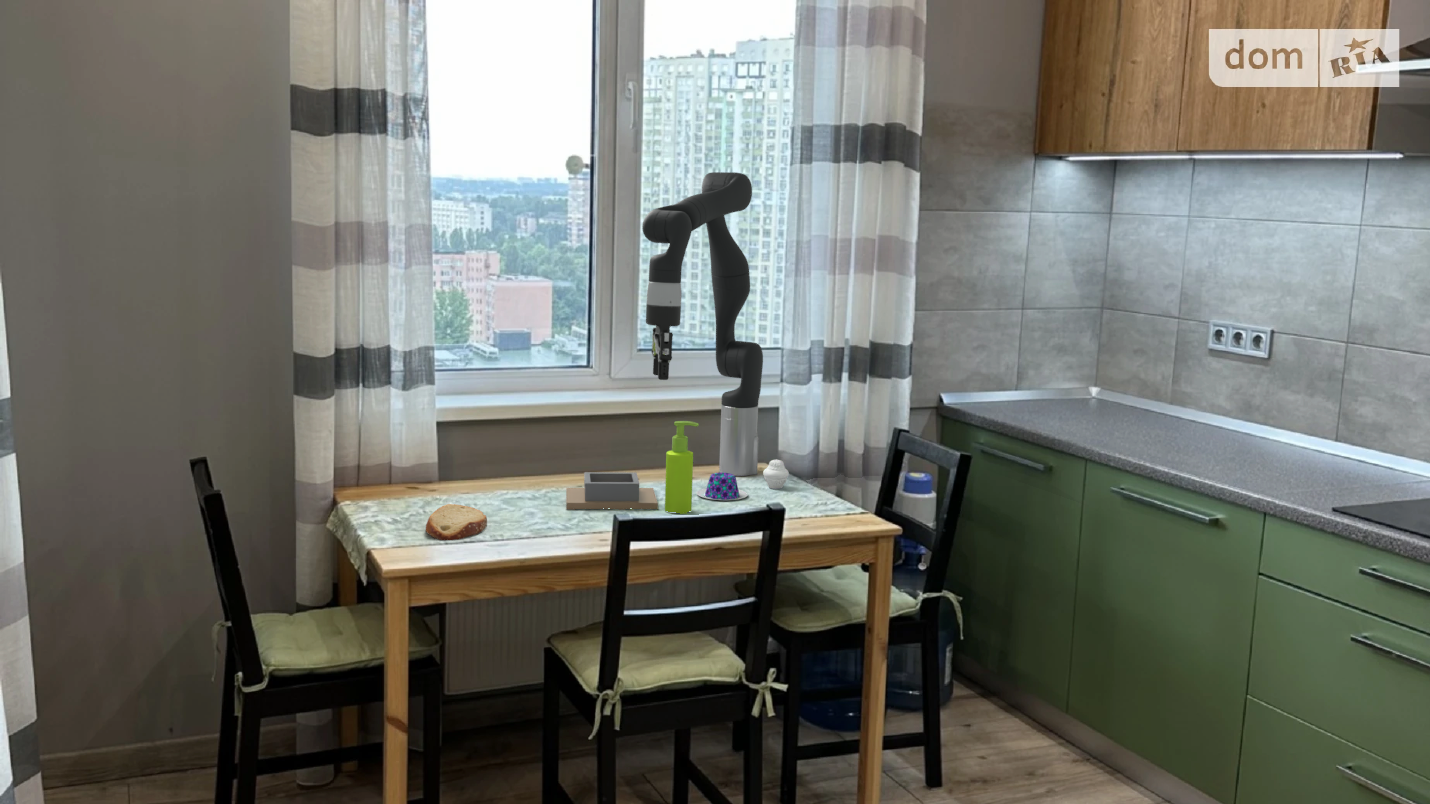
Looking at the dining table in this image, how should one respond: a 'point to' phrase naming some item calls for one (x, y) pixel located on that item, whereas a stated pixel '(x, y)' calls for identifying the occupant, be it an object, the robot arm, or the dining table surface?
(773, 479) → the white lidded jar
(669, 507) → the soap dispenser
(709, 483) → the pudding
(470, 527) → the bread slice
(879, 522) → the dining table surface
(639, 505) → the soap caddy
